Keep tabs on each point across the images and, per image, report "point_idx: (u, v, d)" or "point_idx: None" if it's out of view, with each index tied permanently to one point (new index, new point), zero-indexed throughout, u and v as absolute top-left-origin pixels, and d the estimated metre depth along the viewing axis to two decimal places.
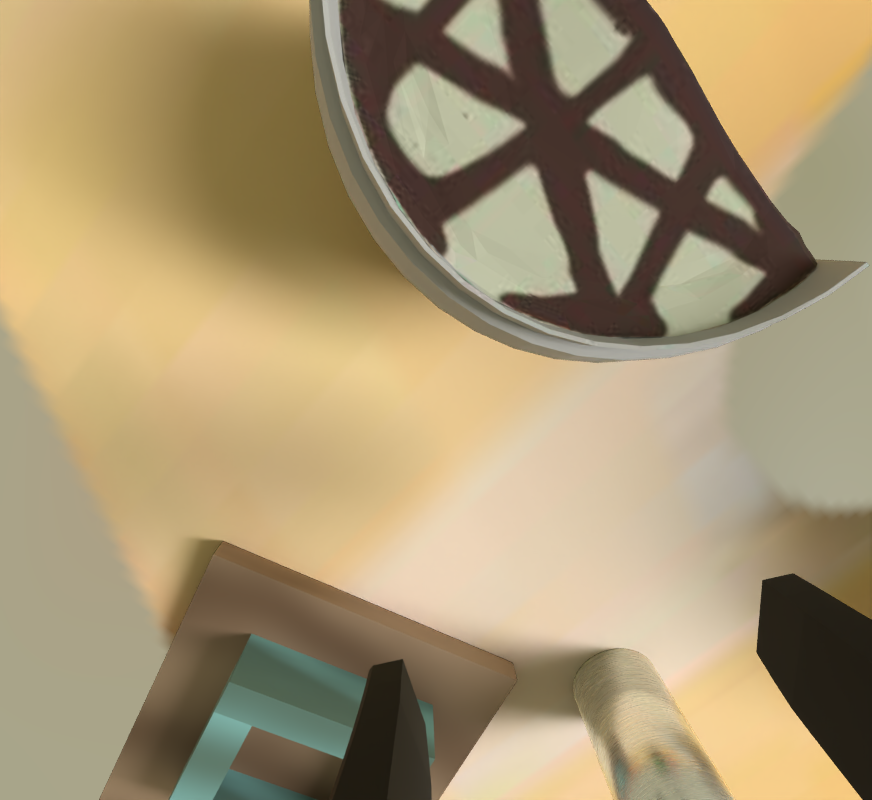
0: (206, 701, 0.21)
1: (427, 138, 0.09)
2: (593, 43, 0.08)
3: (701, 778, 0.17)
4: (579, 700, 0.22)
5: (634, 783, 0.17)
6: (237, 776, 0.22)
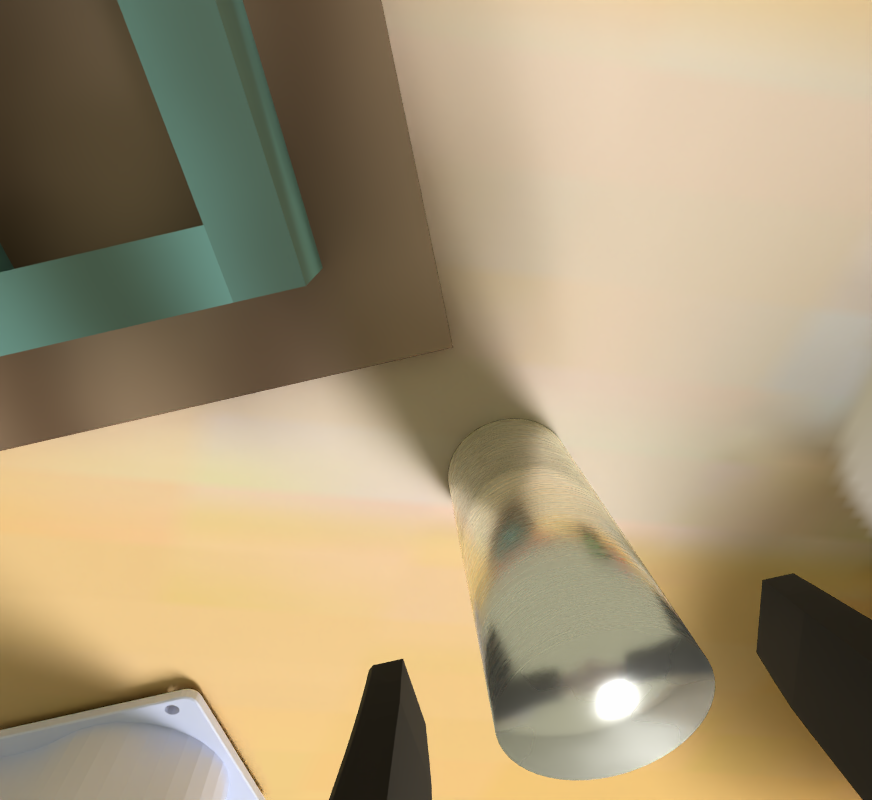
0: None
1: None
2: None
3: None
4: (478, 444, 0.14)
5: (564, 530, 0.10)
6: None
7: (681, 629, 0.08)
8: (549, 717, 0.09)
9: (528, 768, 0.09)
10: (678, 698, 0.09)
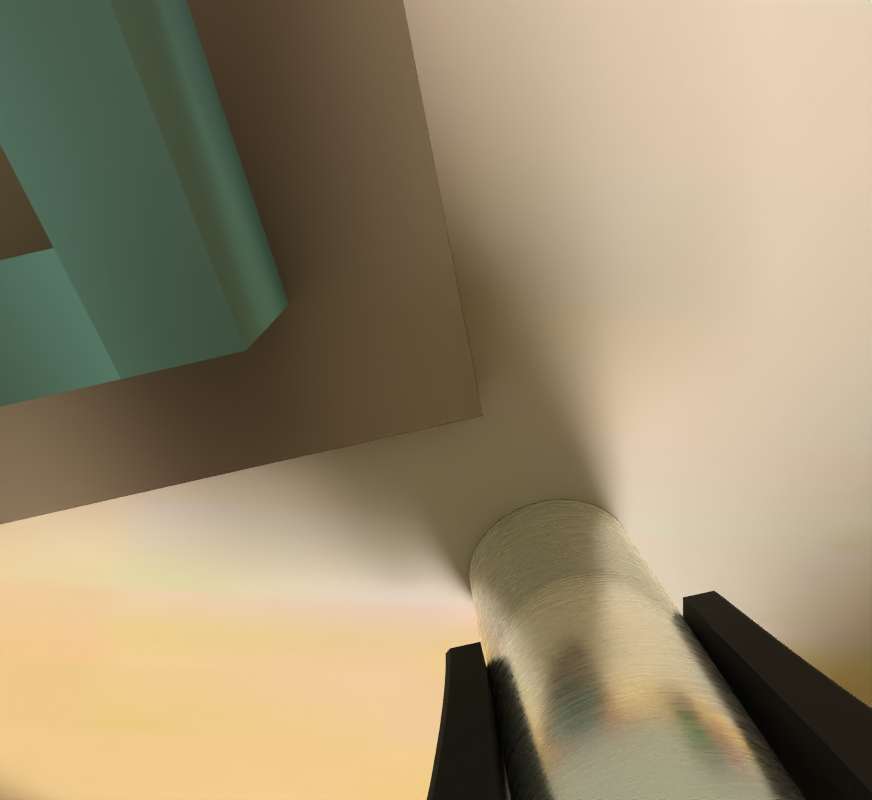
0: None
1: None
2: None
3: None
4: (514, 542, 0.10)
5: (682, 754, 0.06)
6: None
7: None
8: None
9: None
10: None
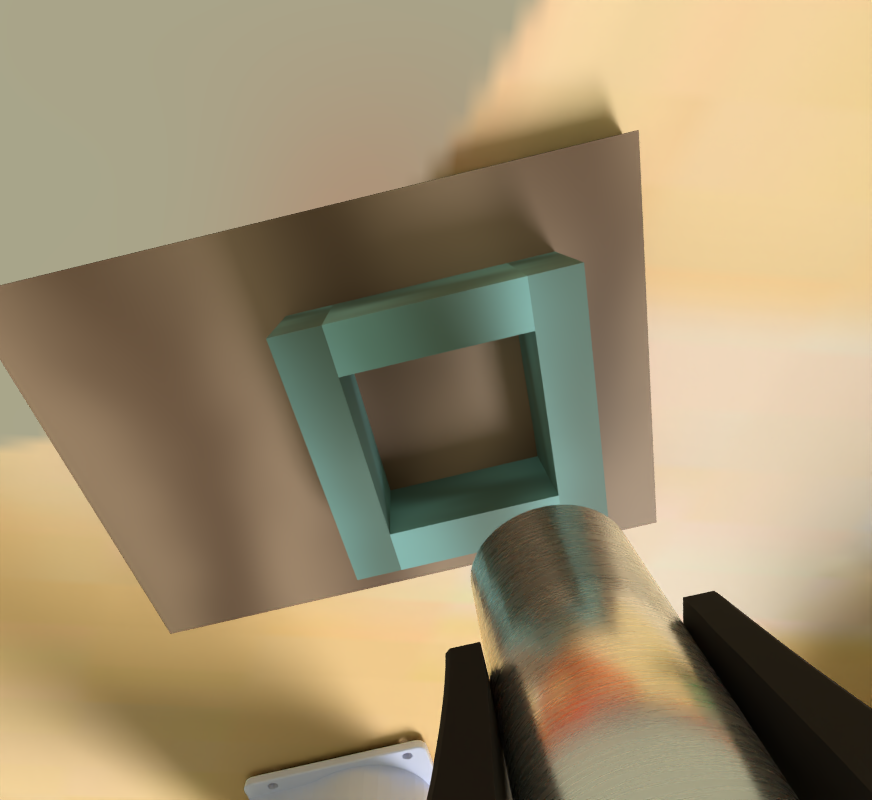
0: (425, 268, 0.15)
1: None
2: None
3: None
4: (508, 552, 0.11)
5: (665, 762, 0.06)
6: (353, 374, 0.16)
7: None
8: None
9: None
10: None
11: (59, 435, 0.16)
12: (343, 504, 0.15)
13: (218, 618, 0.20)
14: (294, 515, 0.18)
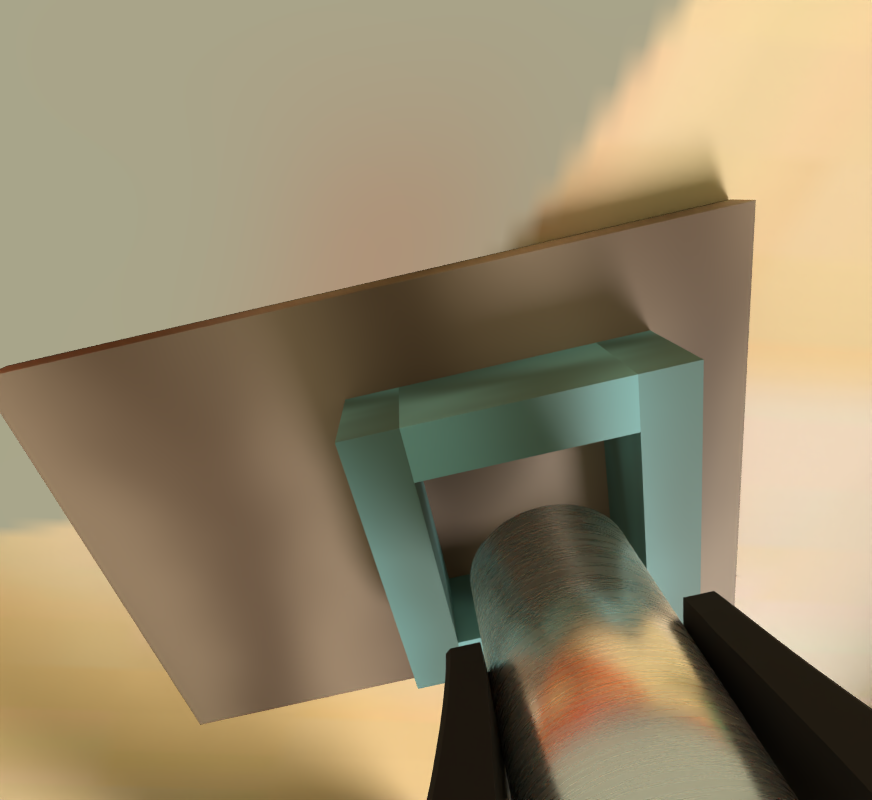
0: (504, 348, 0.13)
1: None
2: None
3: None
4: (507, 552, 0.11)
5: (662, 762, 0.06)
6: None
7: None
8: None
9: None
10: None
11: (86, 525, 0.14)
12: (408, 613, 0.13)
13: (252, 709, 0.18)
14: (342, 604, 0.16)
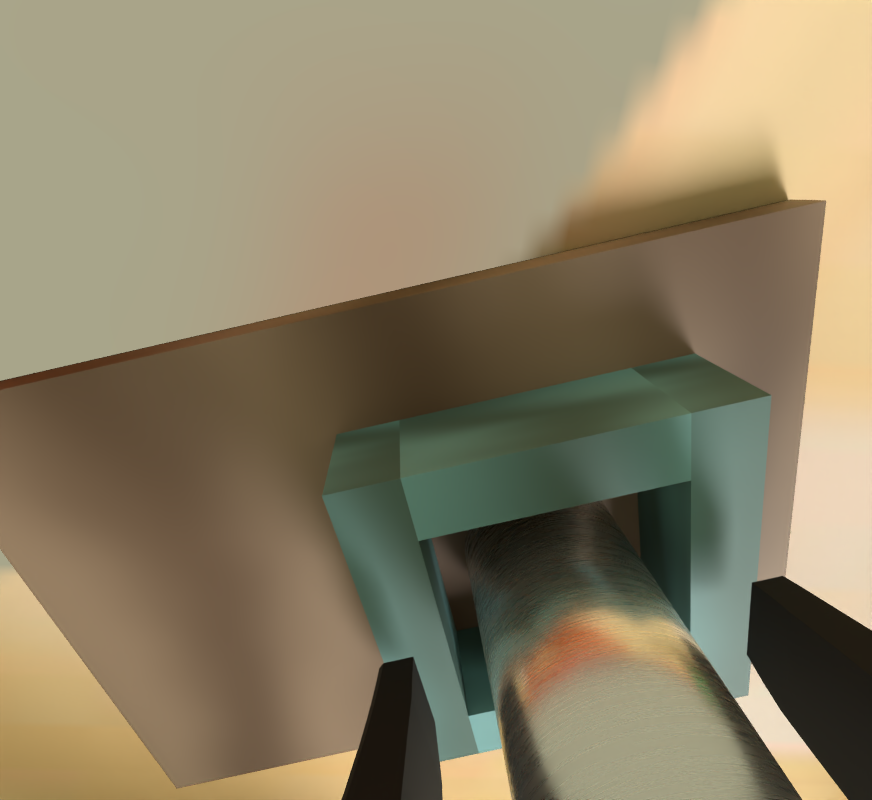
0: (523, 375, 0.11)
1: None
2: None
3: (761, 740, 0.07)
4: None
5: (626, 678, 0.07)
6: None
7: None
8: None
9: None
10: None
11: (37, 577, 0.12)
12: None
13: (235, 771, 0.16)
14: (335, 660, 0.14)
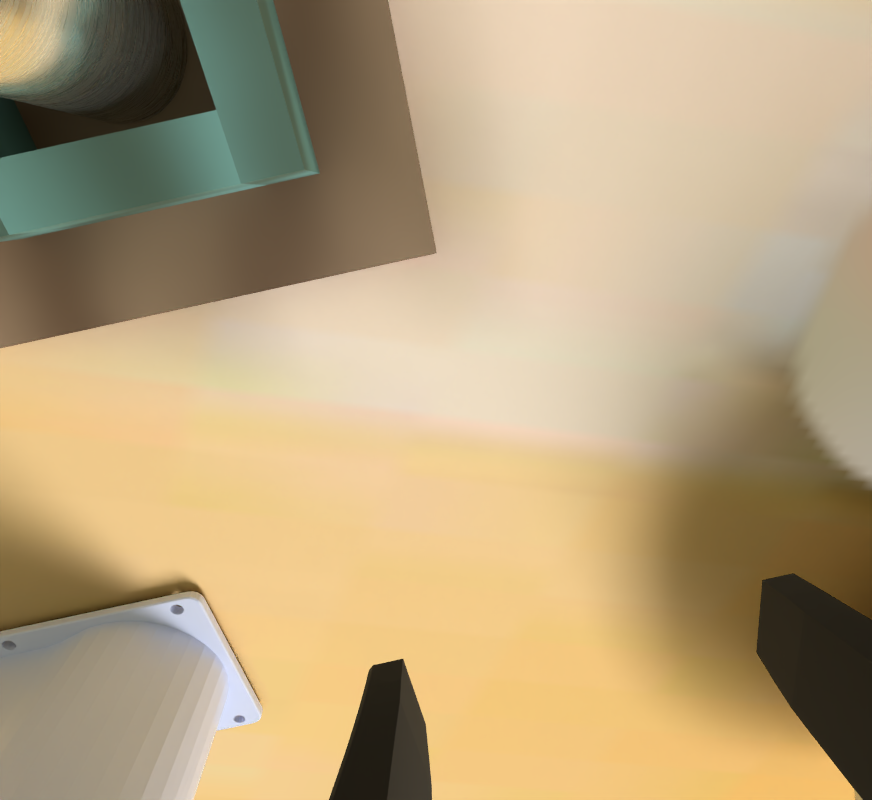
0: None
1: None
2: None
3: None
4: None
5: None
6: None
7: None
8: None
9: None
10: None
11: None
12: None
13: None
14: None
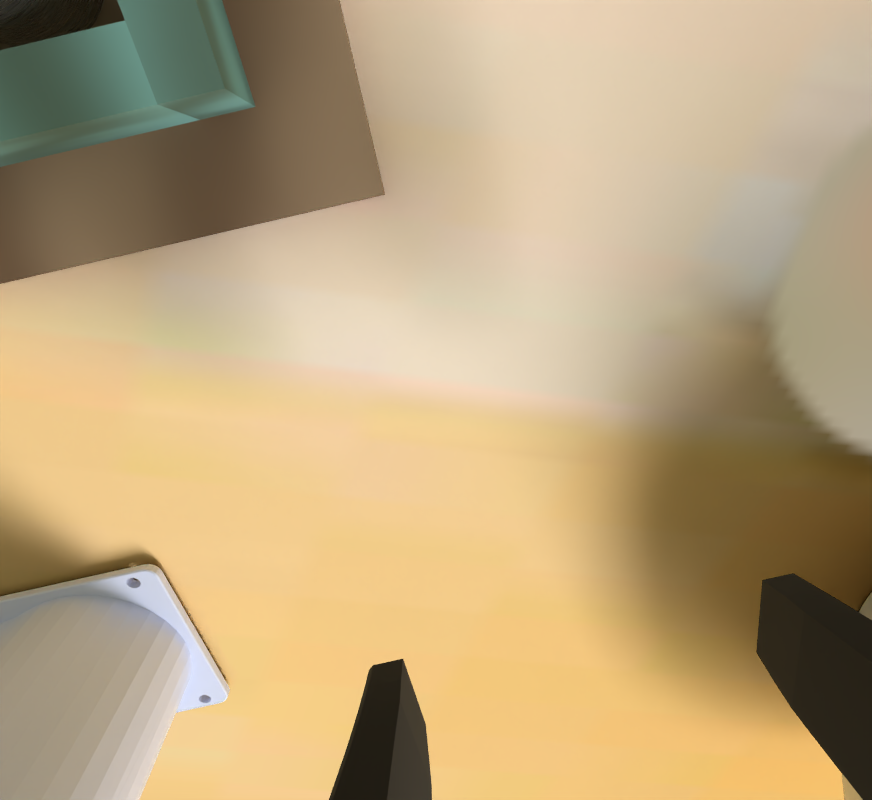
0: None
1: None
2: None
3: None
4: None
5: None
6: None
7: None
8: None
9: None
10: None
11: None
12: None
13: None
14: None
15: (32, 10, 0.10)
